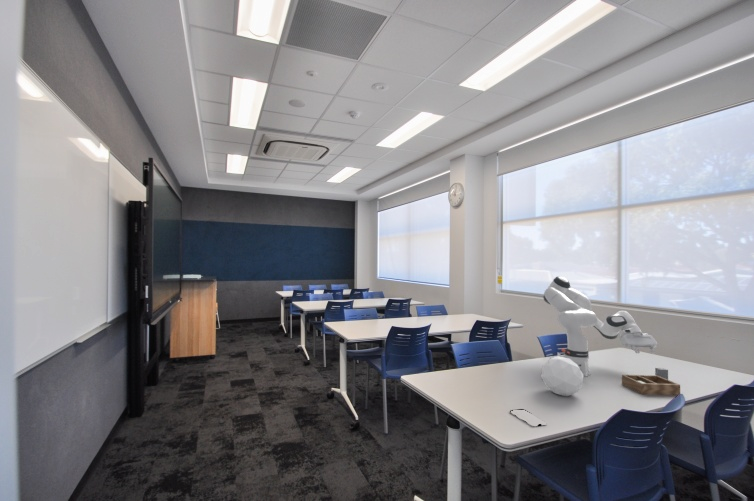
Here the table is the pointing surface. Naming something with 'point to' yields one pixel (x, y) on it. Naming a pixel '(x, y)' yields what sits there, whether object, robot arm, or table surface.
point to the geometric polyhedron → (562, 376)
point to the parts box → (651, 385)
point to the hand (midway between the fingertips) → (645, 353)
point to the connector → (661, 372)
